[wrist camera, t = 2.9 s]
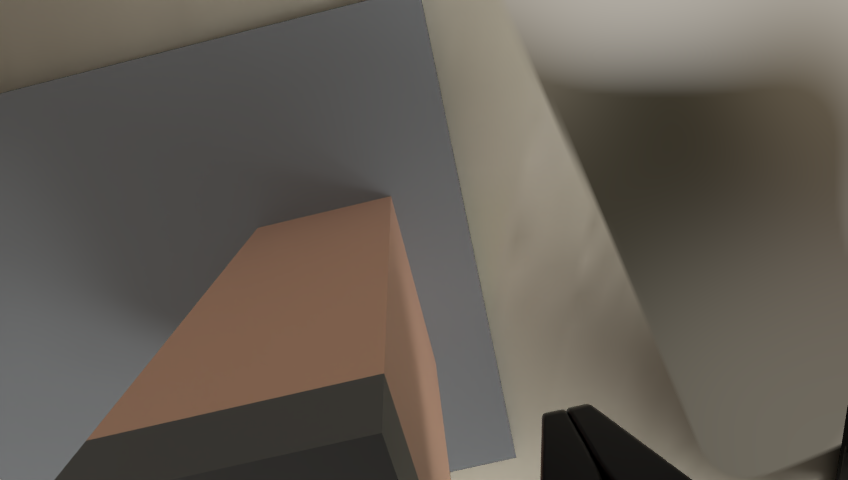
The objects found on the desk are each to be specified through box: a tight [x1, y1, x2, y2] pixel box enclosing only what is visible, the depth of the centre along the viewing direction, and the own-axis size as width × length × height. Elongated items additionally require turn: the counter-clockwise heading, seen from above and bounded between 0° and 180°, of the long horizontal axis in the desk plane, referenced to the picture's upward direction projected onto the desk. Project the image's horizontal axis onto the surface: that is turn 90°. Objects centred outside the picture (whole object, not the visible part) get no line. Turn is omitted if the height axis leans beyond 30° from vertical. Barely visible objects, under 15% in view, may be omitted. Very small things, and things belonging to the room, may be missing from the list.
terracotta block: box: [55, 196, 451, 480], centre depth 10 cm, size 4×6×9 cm, turn 13°
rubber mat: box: [0, 0, 516, 480], centre depth 15 cm, size 18×16×1 cm
